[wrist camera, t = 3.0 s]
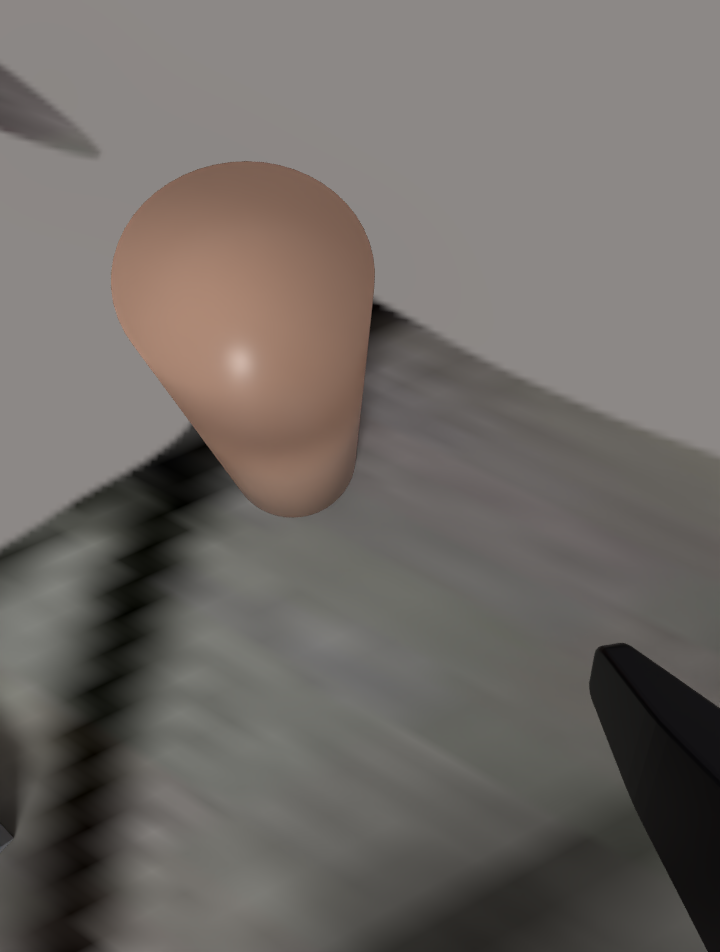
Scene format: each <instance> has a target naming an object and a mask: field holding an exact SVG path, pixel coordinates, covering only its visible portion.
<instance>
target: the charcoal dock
mask: <svg viewBox="0 0 720 952" xmlns="http://www.w3.org/2000/svg"><path fill="white" fill-rule="evenodd" d="M13 839H14V838H13V837H12V836H11V835H10V834H9V832H8V831H7V830H6V829H5V828H4V827H3V826H2V825H1V824H0V852H1V851H2V850H3V849H4V848H5V847H6V846H7V845H8V844H9V843H10V842H11V841H12V840H13Z"/></svg>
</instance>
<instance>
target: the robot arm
mask: <svg viewBox="0 0 720 952" xmlns="http://www.w3.org/2000/svg"><path fill="white" fill-rule="evenodd" d="M589 689H590V695H591V699H592V701H593V704H594V707H595V709H596V712H597V714H598V717H599V719H600V722H601V725H602V727H603V730H604V732H605V735H606V737H607V740H608V743H609V745H610V748H611V750H612V753H613V755H614V758H615V760H616V763H617V766H618V768H619V771H620V773H621V776H622V778H623V781H624V784H625V786H626V789H627V791H628V793H629V796H630V798H631V801H632V803H633V805H634V807H635V809H636V811H637V813H638V816H639V818H640V820H641V822H642V824H643V826H644V828H645V830H646V832H647V834H648V835H649V837H650V839H651V841H652V843H653V845H654V847H655V849H656V851H657V853H658V855H659V857H660V859H661V861H662V863H663V865H664V867H665V869H666V871H667V873H668V875H669V877H670V879H671V881H672V883H673V884H674V886H675V888H676V890H677V892H678V894H679V896H680V898H681V900H682V902H683V904H684V906H685V908H686V910H687V912H688V914H689V916H690V918H691V920H692V922H693V924H694V926H695V928H696V930H697V932H698V933H699V935H700V937H701V939H702V941H703V943H704V945H705V947H706V949H707V951H708V952H720V708H719V707H717V706H716V705H715V704H713V703H712V702H710V701H709V700H707V699H706V698H705V697H703V696H702V695H700V694H699V693H697V692H696V691H695V690H693V689H692V688H690V687H689V686H687V685H686V684H684V683H683V682H682V681H680V680H679V679H677V678H676V677H674V676H673V675H672V674H670V673H669V672H667V671H666V670H664V669H663V668H662V667H660V666H659V665H657V664H656V663H654V662H653V661H652V660H650V659H649V658H647V657H646V656H644V655H643V654H642V653H640V652H639V651H637V650H636V649H634V648H633V647H631V646H630V645H628V644H625V643H616V644H610V645H604V646H600V647H598V648H597V650H596V651H595V654H594V660H593V665H592V671H591V676H590V682H589Z"/></svg>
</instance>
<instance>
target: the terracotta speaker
mask: <svg viewBox="0 0 720 952" xmlns="http://www.w3.org/2000/svg"><path fill="white" fill-rule="evenodd" d="M374 278H375V269H374V260H373V254H372V250H371V246H370V243H369V240H368V238H367V235H366V233H365V231H364V228H363V227H362V225H361V223H360V221H359V220H358V218H357V217H356V215H355V214H354V212H353V211H352V210H351V209H350V207H349V206H348V205H347V204H346V203H345V202H344V201H343V200H342V199H341V198H340V197H339V196H338V195H337V194H336V193H335V192H334V191H332V190H331V189H330V188H328V187H327V186H325V185H324V184H323V183H321V182H319V181H317V180H316V179H314V178H312V177H310V176H309V175H306V174H303V173H301V172H299V171H296V170H294V169H291V168H287V167H284V166H280V165H276V164H270V163H264V162H249V161H244V162H228V163H222V164H216V165H212V166H208V167H204V168H201V169H197V170H195V171H193V172H190V173H188V174H185V175H183V176H181V177H179V178H177V179H175V180H174V181H172V182H170V183H168V184H167V185H165V186H164V187H163V188H161V189H160V190H158V191H157V192H156V193H154V194H153V195H152V196H151V197H150V198H149V199H148V200H147V201H146V202H145V203H143V205H142V206H141V207H140V208H139V209H138V211H137V212H136V213H135V214H134V215H133V217H132V218H131V220H130V221H129V223H128V225H127V226H126V228H125V229H124V231H123V233H122V236H121V238H120V240H119V242H118V245H117V248H116V252H115V255H114V259H113V265H112V272H111V290H112V297H113V304H114V307H115V310H116V313H117V316H118V319H119V321H120V324H121V326H122V328H123V330H124V332H125V334H126V335H127V337H128V338H129V340H130V341H131V343H132V344H133V346H134V347H135V348H136V350H137V351H138V352H139V354H140V355H141V356H142V358H143V359H144V360H145V362H146V363H147V364H148V366H149V367H150V369H151V370H152V371H153V373H154V374H155V375H156V376H157V378H158V379H159V381H160V382H161V383H162V385H163V386H164V387H165V389H166V390H167V391H168V393H169V394H170V395H171V397H172V398H173V400H174V401H175V402H176V404H177V405H178V406H179V408H180V409H181V410H182V412H183V413H184V414H185V416H186V417H187V418H188V420H189V421H190V423H191V424H192V425H193V427H194V428H195V429H196V431H197V432H198V433H199V435H200V436H201V437H202V439H203V440H204V442H205V443H206V444H207V446H208V447H209V448H210V450H211V451H212V452H213V454H214V455H215V456H216V458H217V459H218V460H219V462H220V463H221V464H222V466H223V467H224V469H225V470H226V471H227V473H228V474H229V475H230V477H231V478H232V479H233V481H234V482H235V483H236V485H237V486H238V487H239V489H240V490H241V492H242V493H243V494H244V495H245V496H246V498H247V499H248V500H249V501H250V502H252V503H253V504H254V505H255V506H257V507H258V508H260V509H261V510H264V511H266V512H268V513H270V514H273V515H277V516H282V517H303V516H308V515H312V514H314V513H317V512H319V511H321V510H323V509H325V508H327V507H328V506H330V505H331V504H333V503H334V502H335V501H336V500H337V499H338V498H339V497H340V496H341V495H342V494H343V492H344V491H345V489H346V488H347V486H348V485H349V482H350V480H351V478H352V475H353V472H354V468H355V461H356V452H357V443H358V433H359V424H360V415H361V405H362V396H363V387H364V377H365V368H366V359H367V349H368V340H369V331H370V322H371V312H372V303H373V294H374V280H375V279H374Z"/></svg>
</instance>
